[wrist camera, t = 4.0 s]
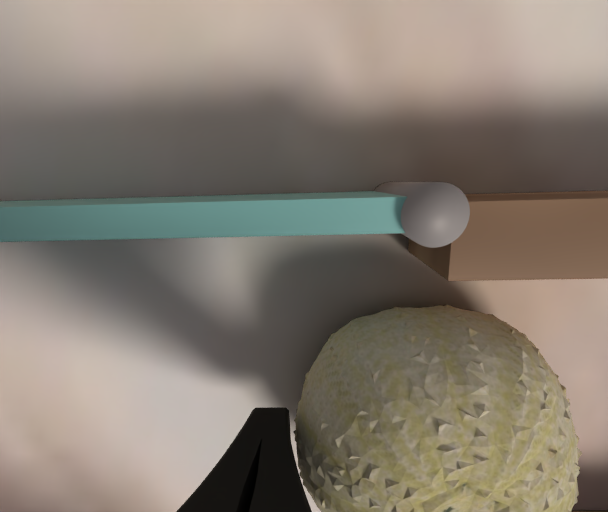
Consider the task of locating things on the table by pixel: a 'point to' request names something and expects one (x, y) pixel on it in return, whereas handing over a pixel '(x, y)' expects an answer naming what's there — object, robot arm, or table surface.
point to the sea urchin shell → (435, 418)
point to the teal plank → (246, 215)
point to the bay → (527, 239)
